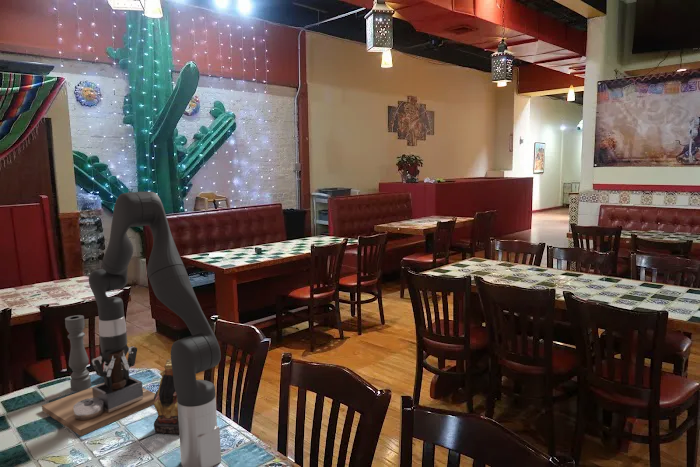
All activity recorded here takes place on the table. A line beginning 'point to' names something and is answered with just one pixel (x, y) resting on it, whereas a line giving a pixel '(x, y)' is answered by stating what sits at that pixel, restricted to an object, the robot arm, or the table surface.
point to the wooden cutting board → (65, 415)
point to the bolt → (117, 371)
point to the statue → (166, 404)
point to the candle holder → (77, 354)
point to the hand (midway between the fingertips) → (117, 383)
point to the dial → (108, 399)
